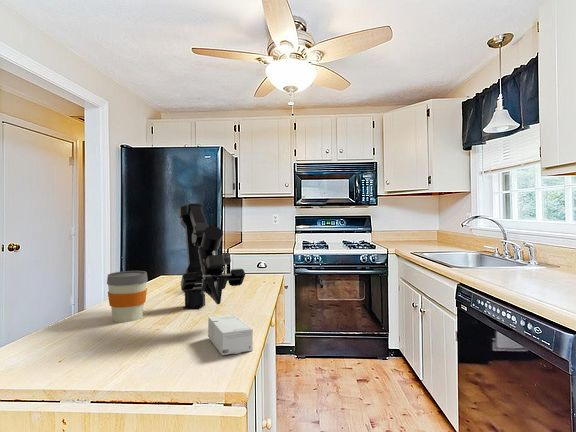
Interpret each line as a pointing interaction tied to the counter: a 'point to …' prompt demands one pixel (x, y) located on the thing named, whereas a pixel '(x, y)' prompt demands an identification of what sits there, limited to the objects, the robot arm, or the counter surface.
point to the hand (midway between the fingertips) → (218, 303)
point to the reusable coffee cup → (127, 294)
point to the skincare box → (230, 334)
